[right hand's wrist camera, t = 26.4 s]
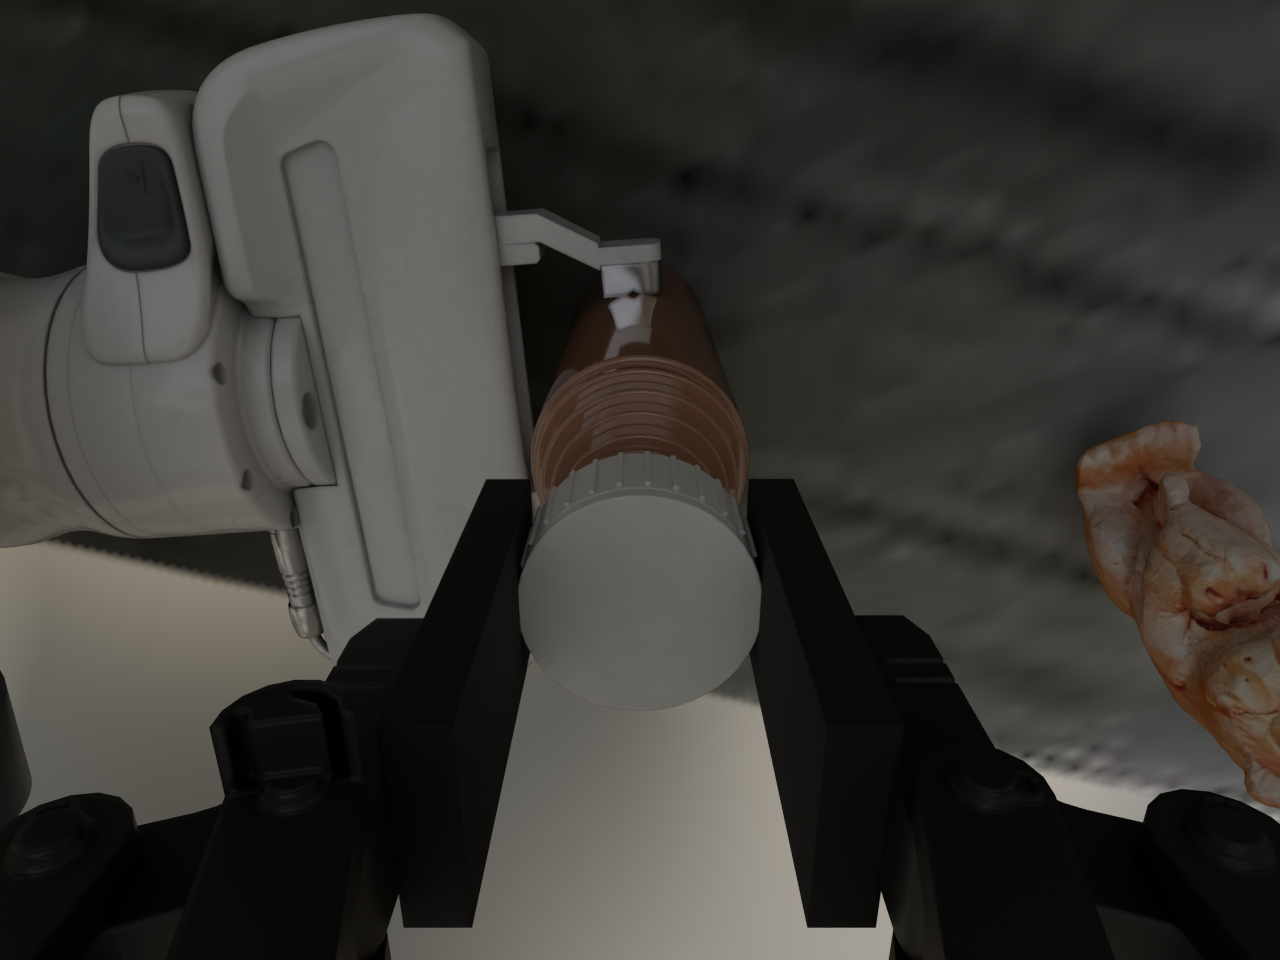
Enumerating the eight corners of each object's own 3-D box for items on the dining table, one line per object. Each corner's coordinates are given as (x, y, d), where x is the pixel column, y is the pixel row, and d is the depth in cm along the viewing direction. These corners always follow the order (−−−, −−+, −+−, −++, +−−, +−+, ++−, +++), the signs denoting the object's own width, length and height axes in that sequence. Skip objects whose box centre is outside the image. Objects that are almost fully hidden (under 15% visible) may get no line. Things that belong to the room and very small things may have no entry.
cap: (650, 402, 14) (652, 440, 12) (797, 563, 15) (818, 619, 13) (480, 545, 15) (460, 600, 13) (630, 687, 16) (629, 754, 14)
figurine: (1142, 380, 33) (1505, 554, 19) (1186, 538, 36) (1534, 793, 22) (990, 445, 34) (1230, 656, 20) (1043, 594, 37) (1288, 872, 23)
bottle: (725, 296, 32) (846, 515, 13) (669, 407, 34) (706, 743, 15) (608, 239, 31) (560, 389, 13) (556, 356, 33) (446, 643, 14)
